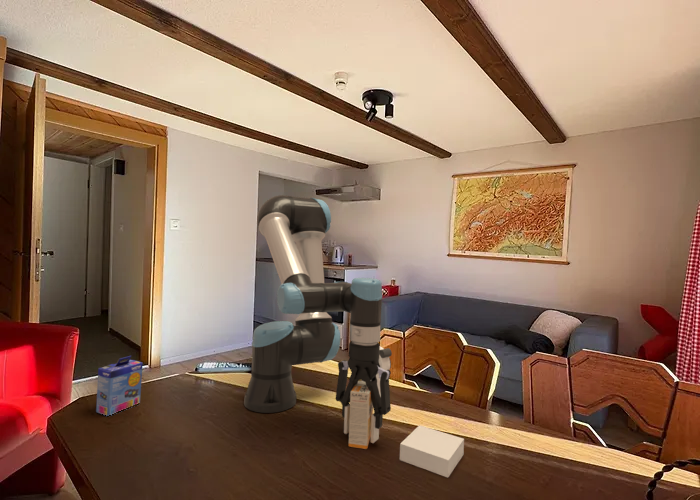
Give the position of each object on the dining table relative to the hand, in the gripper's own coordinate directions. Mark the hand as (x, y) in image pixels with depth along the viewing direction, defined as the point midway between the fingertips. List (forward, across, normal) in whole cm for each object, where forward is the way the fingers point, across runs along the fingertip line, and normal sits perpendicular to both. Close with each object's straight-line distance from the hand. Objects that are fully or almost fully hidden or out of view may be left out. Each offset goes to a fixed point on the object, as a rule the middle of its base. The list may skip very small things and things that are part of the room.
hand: (361, 435), depth 92 cm
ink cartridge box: (+1, -63, -25) cm, 68 cm away
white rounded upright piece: (+1, -13, +30) cm, 33 cm away
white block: (+1, +17, +3) cm, 17 cm away
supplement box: (+1, 0, 0) cm, 1 cm away
